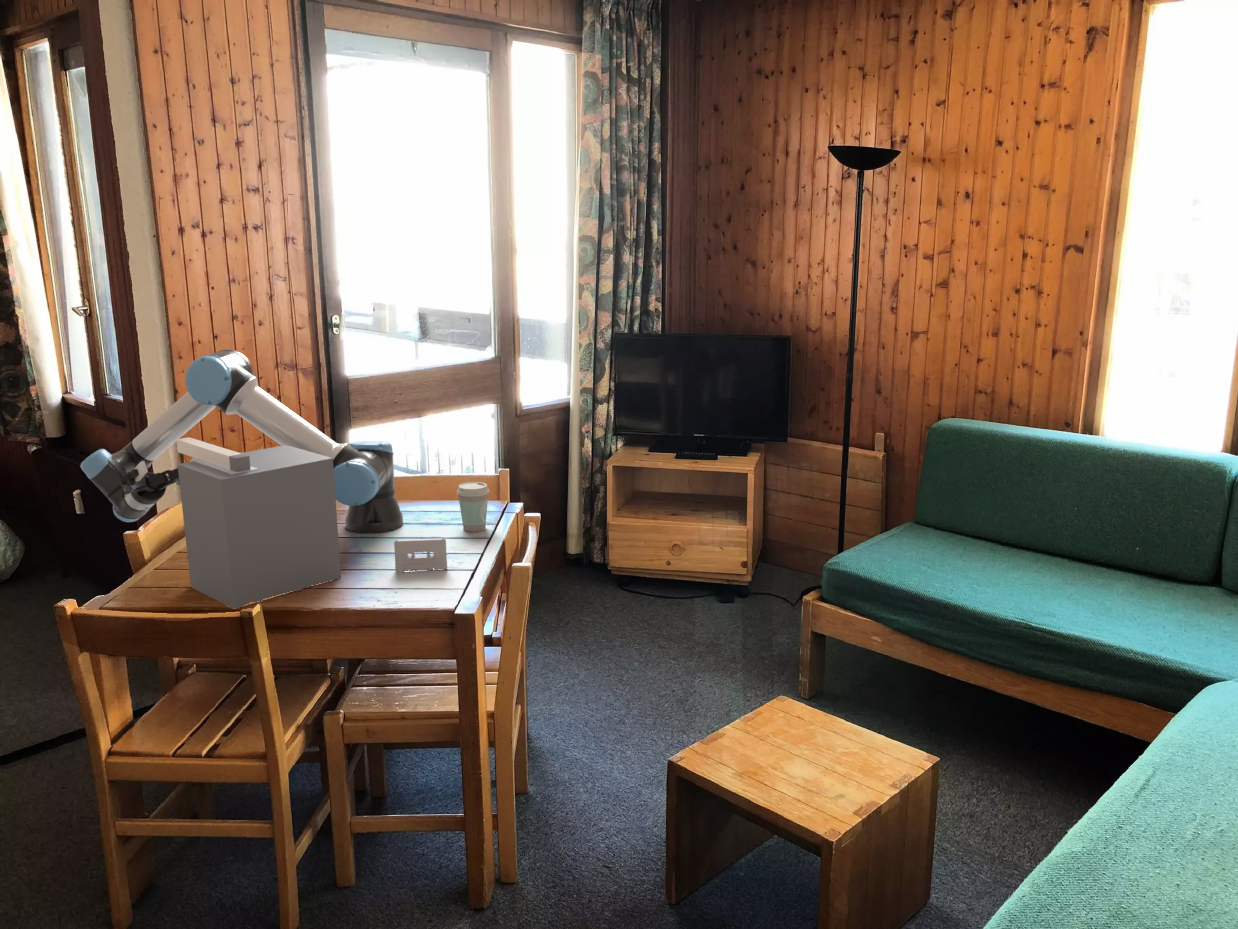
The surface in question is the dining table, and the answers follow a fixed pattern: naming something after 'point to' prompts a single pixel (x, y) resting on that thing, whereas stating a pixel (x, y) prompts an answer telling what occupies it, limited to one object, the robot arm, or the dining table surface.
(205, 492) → the grey box
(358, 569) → the dining table surface
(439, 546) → the cassette
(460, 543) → the dining table surface
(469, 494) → the coffee cup
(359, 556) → the dining table surface
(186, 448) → the bar
